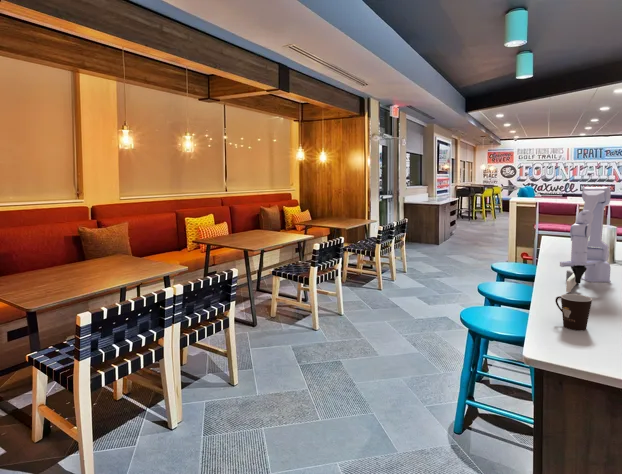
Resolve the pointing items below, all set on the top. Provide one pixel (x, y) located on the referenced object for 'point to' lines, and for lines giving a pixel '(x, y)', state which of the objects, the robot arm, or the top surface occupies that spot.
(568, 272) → the gate post
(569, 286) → the gate
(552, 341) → the top surface
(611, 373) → the top surface
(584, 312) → the coffee mug
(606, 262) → the robot arm
